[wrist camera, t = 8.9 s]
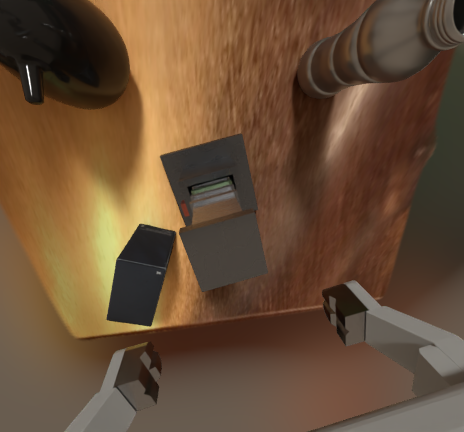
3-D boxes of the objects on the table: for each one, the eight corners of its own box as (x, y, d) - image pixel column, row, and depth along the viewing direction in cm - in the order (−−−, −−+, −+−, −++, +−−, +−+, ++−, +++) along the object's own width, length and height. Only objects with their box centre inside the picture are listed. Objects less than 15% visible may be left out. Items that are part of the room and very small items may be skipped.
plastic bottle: (315, 110, 33) (462, 93, 14) (282, 79, 31) (404, 12, 12) (345, 69, 31) (553, -9, 13) (312, 33, 29) (505, -123, 11)
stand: (161, 154, 32) (147, 166, 24) (240, 133, 33) (254, 136, 24) (187, 225, 37) (183, 256, 28) (255, 206, 37) (272, 231, 29)
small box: (137, 221, 36) (113, 257, 26) (177, 230, 37) (169, 267, 28) (127, 273, 39) (103, 322, 30) (164, 280, 41) (152, 328, 31)
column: (189, 180, 28) (179, 233, 14) (228, 169, 28) (254, 212, 15) (201, 216, 30) (202, 292, 17) (237, 206, 30) (268, 273, 17)
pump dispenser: (67, 116, 29) (-57, 108, 15) (33, 15, 25) (-181, -125, 11) (146, 110, 30) (99, 98, 16) (126, 12, 26) (39, -120, 12)
